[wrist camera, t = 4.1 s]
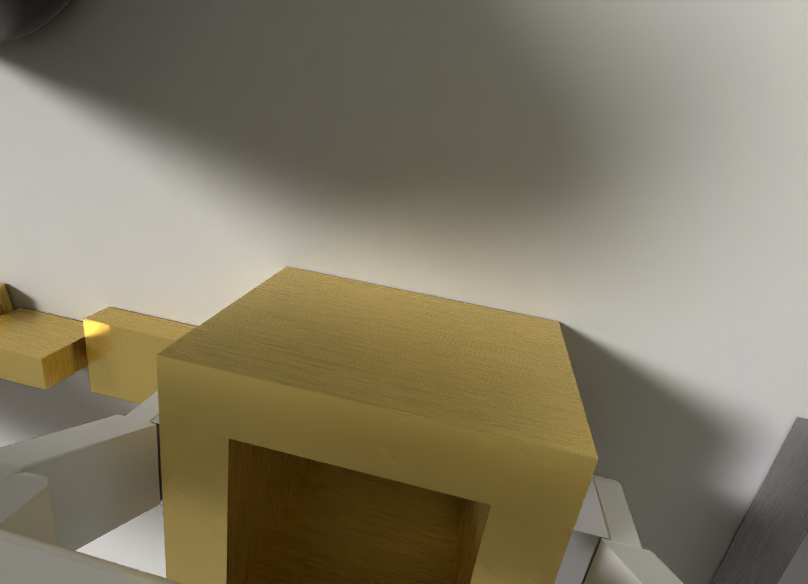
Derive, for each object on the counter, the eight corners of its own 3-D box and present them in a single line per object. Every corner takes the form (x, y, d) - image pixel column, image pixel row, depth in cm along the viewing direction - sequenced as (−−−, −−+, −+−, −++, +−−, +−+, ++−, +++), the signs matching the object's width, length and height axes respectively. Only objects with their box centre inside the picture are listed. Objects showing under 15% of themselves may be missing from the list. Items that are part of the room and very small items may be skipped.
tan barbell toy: (-73, 266, 13) (-160, 287, 11) (197, 326, 12) (146, 360, 10) (-55, 345, 14) (-134, 377, 12) (198, 409, 13) (151, 452, 11)
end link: (286, 266, 11) (156, 354, 7) (558, 321, 10) (599, 458, 6) (274, 478, 13) (169, 642, 9) (497, 536, 12) (496, 746, 8)
